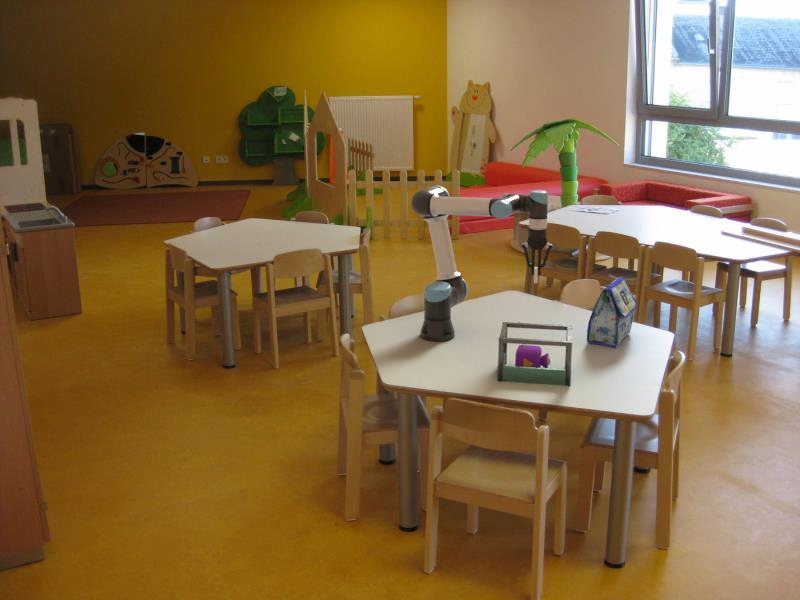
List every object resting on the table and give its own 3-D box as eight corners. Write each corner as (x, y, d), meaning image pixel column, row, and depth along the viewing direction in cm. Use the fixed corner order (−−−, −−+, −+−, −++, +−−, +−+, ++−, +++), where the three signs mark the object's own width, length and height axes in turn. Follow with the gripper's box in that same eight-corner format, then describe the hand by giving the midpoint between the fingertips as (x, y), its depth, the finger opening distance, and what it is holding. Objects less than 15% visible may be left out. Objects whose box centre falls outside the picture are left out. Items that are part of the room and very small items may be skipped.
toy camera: (550, 376, 332) (552, 352, 329) (515, 375, 333) (516, 351, 330) (548, 366, 342) (549, 342, 339) (513, 365, 343) (514, 342, 340)
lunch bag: (622, 350, 359) (627, 290, 351) (584, 344, 367) (587, 285, 359) (636, 334, 377) (640, 277, 370) (599, 329, 385) (602, 273, 378)
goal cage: (497, 381, 327) (498, 338, 322) (501, 362, 346) (502, 321, 341) (570, 386, 322) (572, 342, 317) (570, 366, 341) (572, 325, 336)
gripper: (521, 229, 354) (519, 284, 361) (553, 230, 351) (551, 285, 358) (522, 225, 361) (520, 279, 368) (553, 226, 358) (551, 280, 365)
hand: (535, 282), depth 363 cm, fingers closed
